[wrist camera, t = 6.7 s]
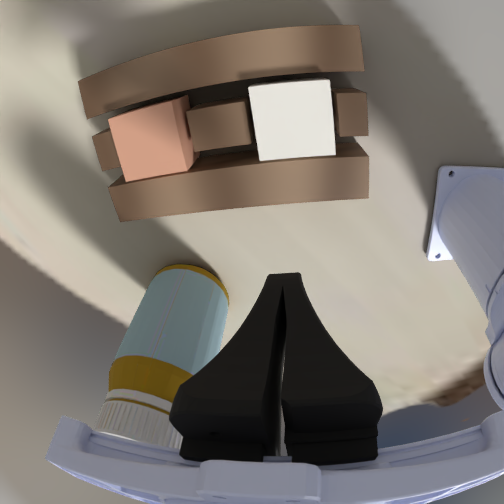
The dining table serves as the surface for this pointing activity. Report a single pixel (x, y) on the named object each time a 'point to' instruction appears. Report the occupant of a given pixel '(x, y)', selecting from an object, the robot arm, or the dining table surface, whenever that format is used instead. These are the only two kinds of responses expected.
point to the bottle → (163, 353)
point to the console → (236, 122)
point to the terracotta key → (154, 139)
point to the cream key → (293, 118)
